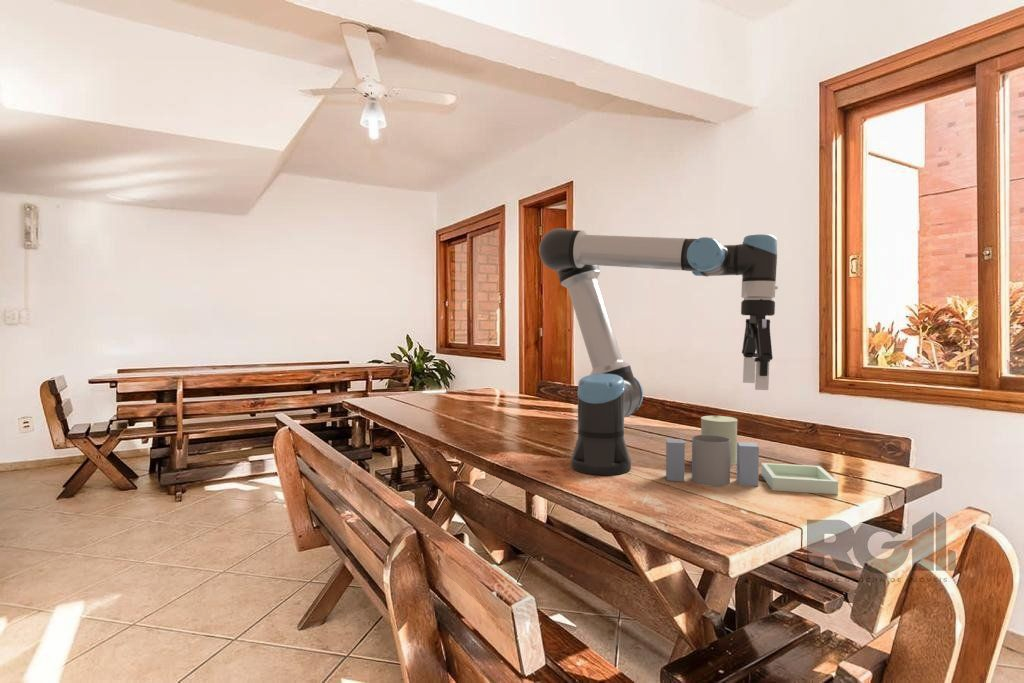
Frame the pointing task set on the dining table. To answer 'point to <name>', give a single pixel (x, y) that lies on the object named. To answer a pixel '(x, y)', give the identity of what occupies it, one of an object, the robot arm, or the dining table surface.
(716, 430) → the can
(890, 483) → the dining table surface
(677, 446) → the block
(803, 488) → the tray
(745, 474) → the block
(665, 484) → the dining table surface
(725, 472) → the cup
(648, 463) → the dining table surface
